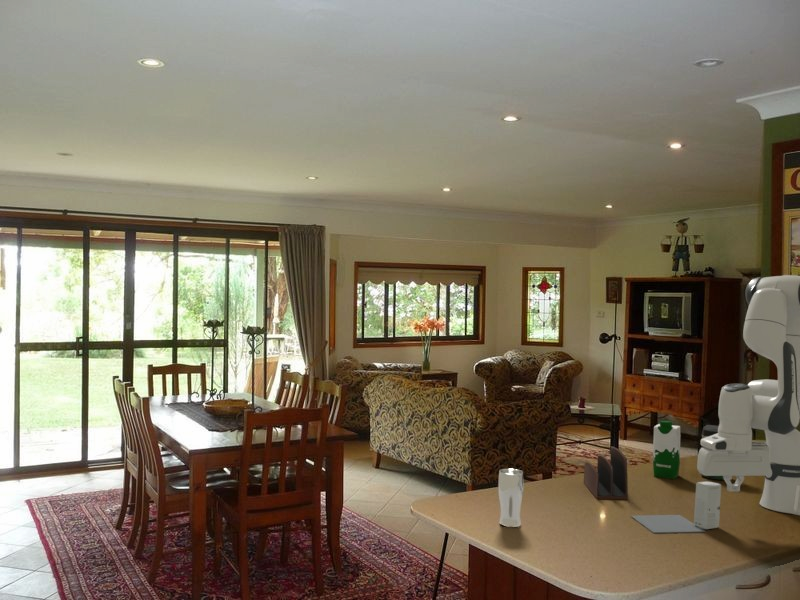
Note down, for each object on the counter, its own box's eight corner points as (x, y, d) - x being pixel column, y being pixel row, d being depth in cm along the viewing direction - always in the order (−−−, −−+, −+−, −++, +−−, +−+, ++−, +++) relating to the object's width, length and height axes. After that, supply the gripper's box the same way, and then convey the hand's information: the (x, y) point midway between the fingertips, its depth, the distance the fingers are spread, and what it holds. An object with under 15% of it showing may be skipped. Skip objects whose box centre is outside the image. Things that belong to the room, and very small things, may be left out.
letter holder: (612, 484, 254) (613, 443, 253) (628, 500, 234) (628, 456, 234) (583, 483, 254) (584, 442, 254) (596, 499, 234) (597, 455, 234)
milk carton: (650, 476, 264) (651, 421, 264) (656, 471, 272) (657, 417, 272) (676, 480, 260) (677, 423, 259) (681, 475, 267) (682, 420, 267)
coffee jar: (698, 477, 264) (699, 425, 264) (704, 473, 271) (705, 422, 270) (726, 482, 258) (727, 429, 258) (732, 477, 265) (733, 426, 265)
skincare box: (706, 530, 204) (709, 486, 204) (692, 525, 208) (695, 482, 207) (719, 527, 207) (722, 484, 207) (705, 522, 211) (708, 480, 211)
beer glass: (503, 529, 202) (504, 475, 202) (493, 521, 209) (494, 469, 209) (526, 527, 204) (527, 473, 204) (516, 520, 211) (517, 467, 211)
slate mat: (679, 515, 218) (679, 514, 218) (705, 532, 203) (705, 531, 203) (630, 516, 216) (630, 515, 216) (653, 533, 201) (653, 532, 201)
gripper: (762, 439, 212) (761, 487, 212) (695, 439, 210) (693, 488, 210) (776, 444, 206) (774, 493, 206) (706, 444, 204) (705, 494, 204)
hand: (733, 490), depth 208 cm, fingers closed
